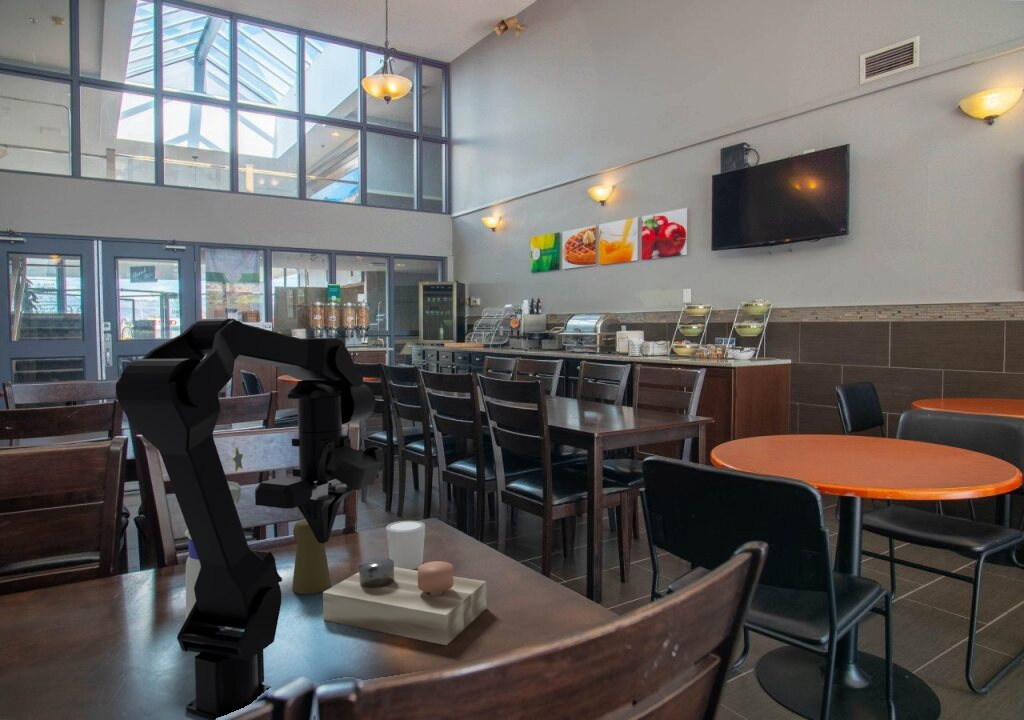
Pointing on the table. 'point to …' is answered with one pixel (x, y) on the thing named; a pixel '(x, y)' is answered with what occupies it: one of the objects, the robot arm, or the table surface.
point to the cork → (309, 562)
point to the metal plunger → (376, 572)
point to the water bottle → (193, 560)
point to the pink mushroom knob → (435, 577)
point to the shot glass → (406, 543)
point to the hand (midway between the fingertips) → (323, 542)
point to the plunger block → (406, 606)
